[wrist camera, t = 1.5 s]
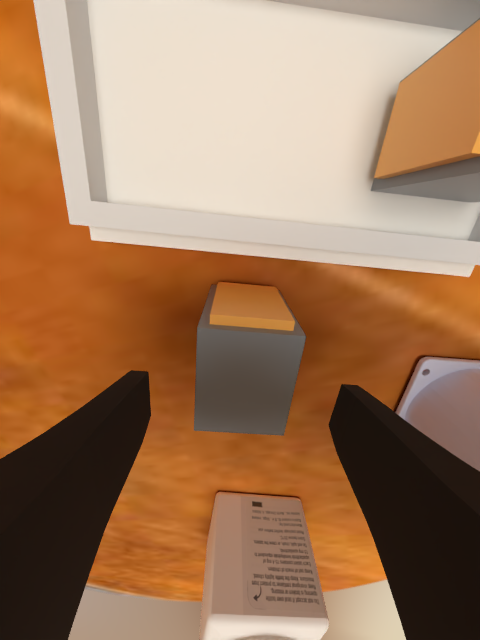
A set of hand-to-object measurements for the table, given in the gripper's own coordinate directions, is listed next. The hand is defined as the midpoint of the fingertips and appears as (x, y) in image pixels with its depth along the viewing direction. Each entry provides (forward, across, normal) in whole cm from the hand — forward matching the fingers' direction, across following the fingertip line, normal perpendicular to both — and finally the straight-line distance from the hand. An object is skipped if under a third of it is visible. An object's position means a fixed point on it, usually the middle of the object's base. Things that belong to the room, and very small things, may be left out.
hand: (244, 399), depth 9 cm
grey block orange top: (+7, 0, 0) cm, 7 cm away
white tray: (+7, -2, -10) cm, 12 cm away
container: (+7, -3, +20) cm, 21 cm away
